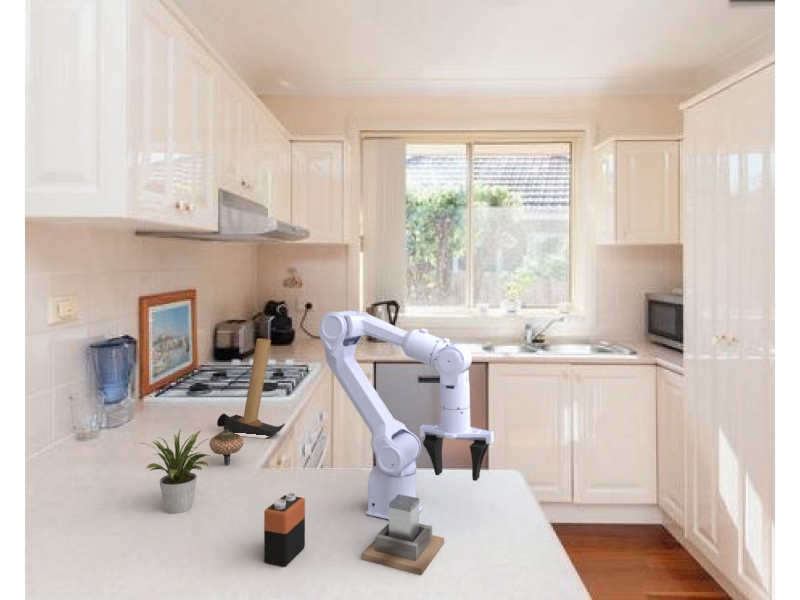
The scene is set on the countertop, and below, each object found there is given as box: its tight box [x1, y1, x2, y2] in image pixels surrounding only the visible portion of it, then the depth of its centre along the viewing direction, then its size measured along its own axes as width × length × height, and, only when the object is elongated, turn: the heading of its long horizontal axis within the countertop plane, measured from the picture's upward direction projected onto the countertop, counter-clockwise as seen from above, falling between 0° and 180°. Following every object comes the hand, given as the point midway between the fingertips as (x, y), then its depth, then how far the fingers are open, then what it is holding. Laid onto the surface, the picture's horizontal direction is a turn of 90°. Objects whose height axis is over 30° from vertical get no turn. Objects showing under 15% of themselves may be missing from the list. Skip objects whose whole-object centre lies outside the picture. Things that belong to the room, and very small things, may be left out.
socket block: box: [361, 522, 445, 576], centre depth 89 cm, size 11×11×4 cm
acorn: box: [209, 427, 245, 466], centre depth 129 cm, size 8×8×10 cm
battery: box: [263, 492, 306, 567], centre depth 87 cm, size 4×7×10 cm, turn 162°
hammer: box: [216, 338, 286, 437], centre depth 154 cm, size 20×5×30 cm, turn 75°
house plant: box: [133, 428, 212, 515], centre depth 103 cm, size 14×14×16 cm
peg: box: [388, 494, 420, 542], centre depth 89 cm, size 4×4×8 cm
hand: (457, 476), depth 98 cm, fingers open, 7 cm apart
